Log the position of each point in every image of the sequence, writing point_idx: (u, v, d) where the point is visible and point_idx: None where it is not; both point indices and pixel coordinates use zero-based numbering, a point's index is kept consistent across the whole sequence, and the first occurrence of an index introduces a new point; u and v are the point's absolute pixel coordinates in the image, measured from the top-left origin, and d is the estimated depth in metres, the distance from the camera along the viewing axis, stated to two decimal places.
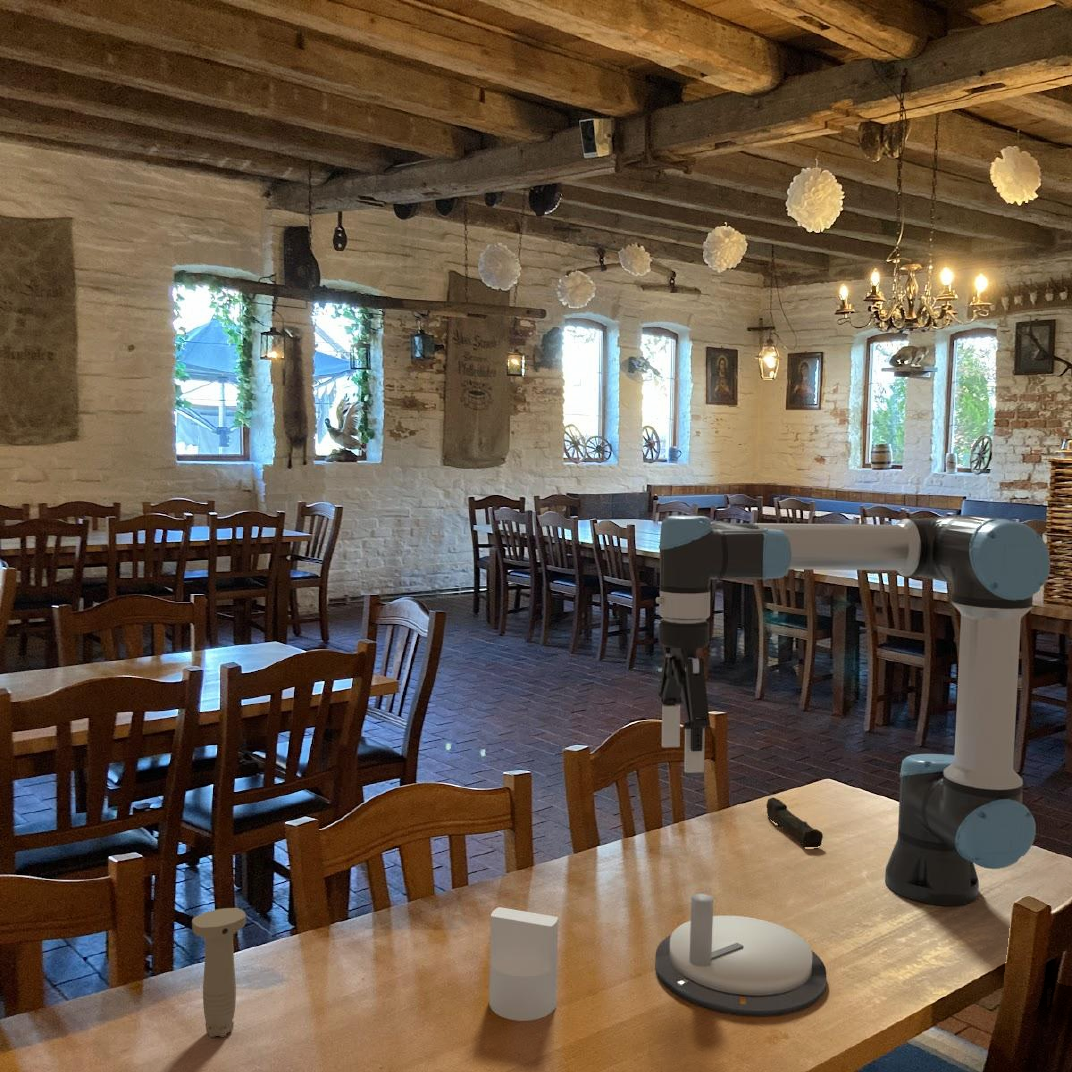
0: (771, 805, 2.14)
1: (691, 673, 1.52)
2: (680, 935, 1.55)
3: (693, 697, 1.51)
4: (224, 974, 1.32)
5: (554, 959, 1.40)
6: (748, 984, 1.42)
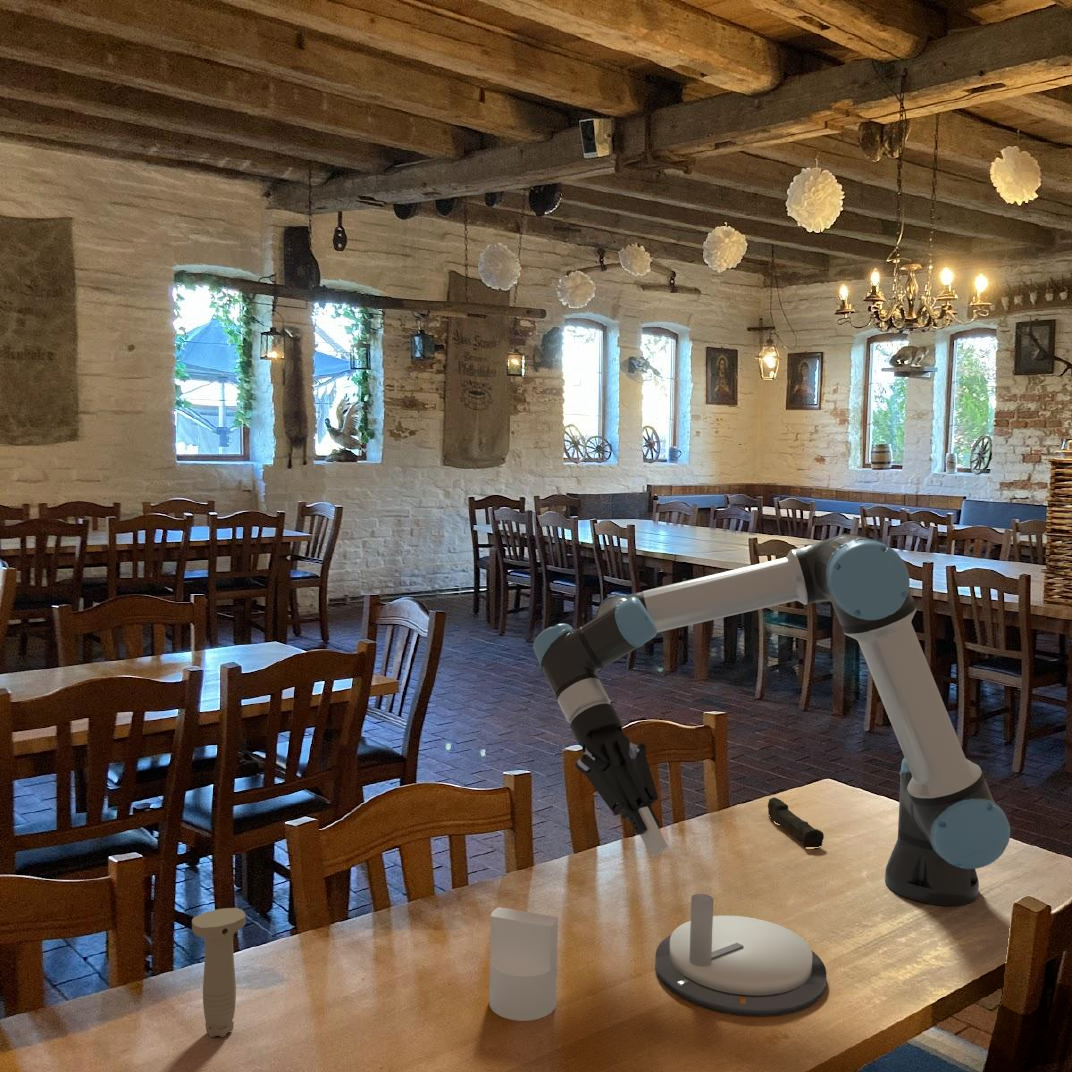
0: (772, 805, 2.14)
1: (586, 772, 1.59)
2: (680, 935, 1.55)
3: (600, 792, 1.58)
4: (224, 974, 1.32)
5: (554, 959, 1.40)
6: (748, 984, 1.42)
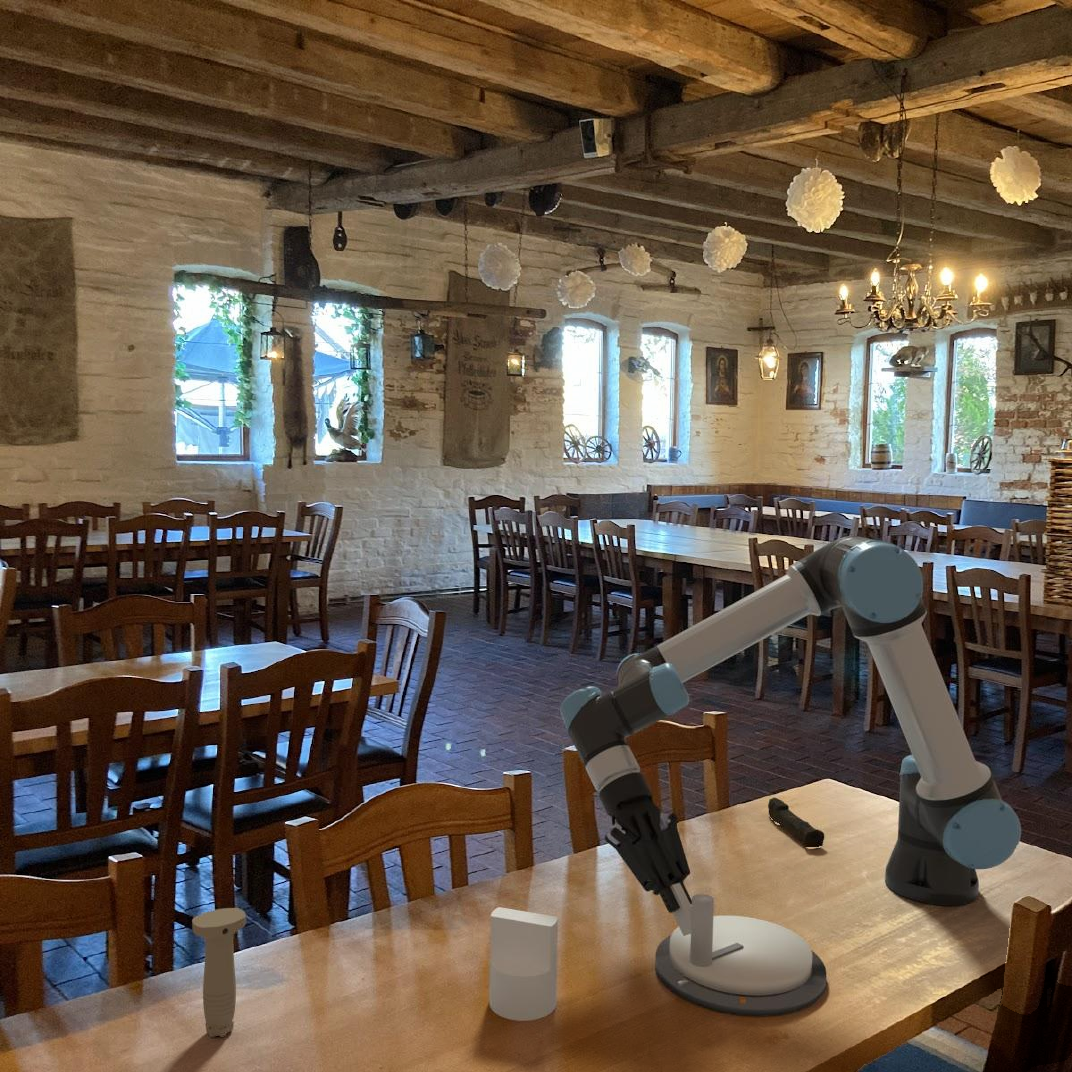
0: (773, 805, 2.14)
1: (616, 846, 1.54)
2: (680, 935, 1.55)
3: (630, 867, 1.53)
4: (224, 974, 1.32)
5: (554, 959, 1.40)
6: (749, 984, 1.42)
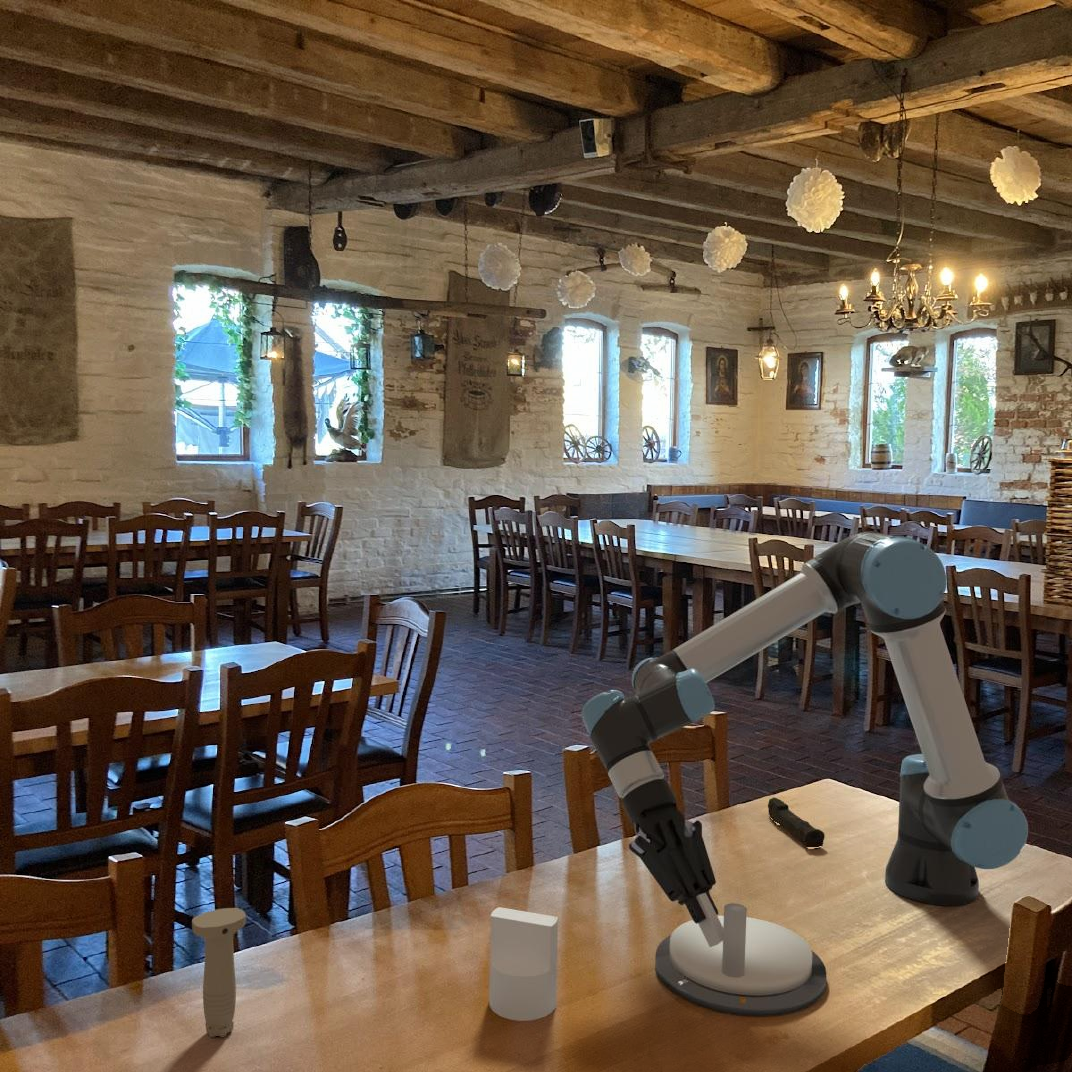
0: (772, 805, 2.14)
1: (640, 855, 1.51)
2: (684, 952, 1.50)
3: (655, 876, 1.50)
4: (224, 974, 1.32)
5: (554, 959, 1.40)
6: (790, 980, 1.44)
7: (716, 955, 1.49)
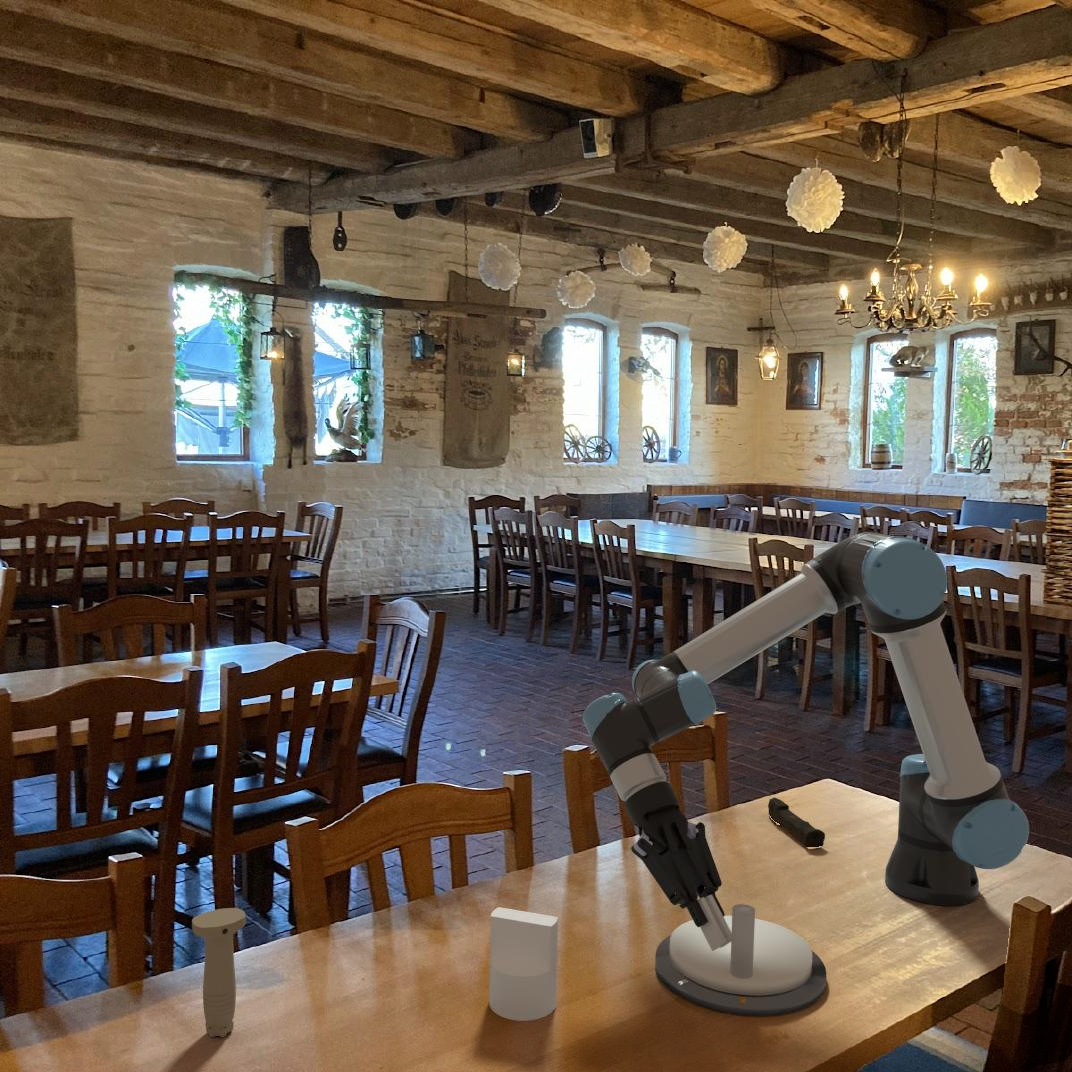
0: (773, 805, 2.14)
1: (642, 857, 1.50)
2: (688, 956, 1.49)
3: (657, 879, 1.49)
4: (224, 974, 1.32)
5: (554, 959, 1.40)
6: (797, 977, 1.44)
7: (720, 957, 1.49)
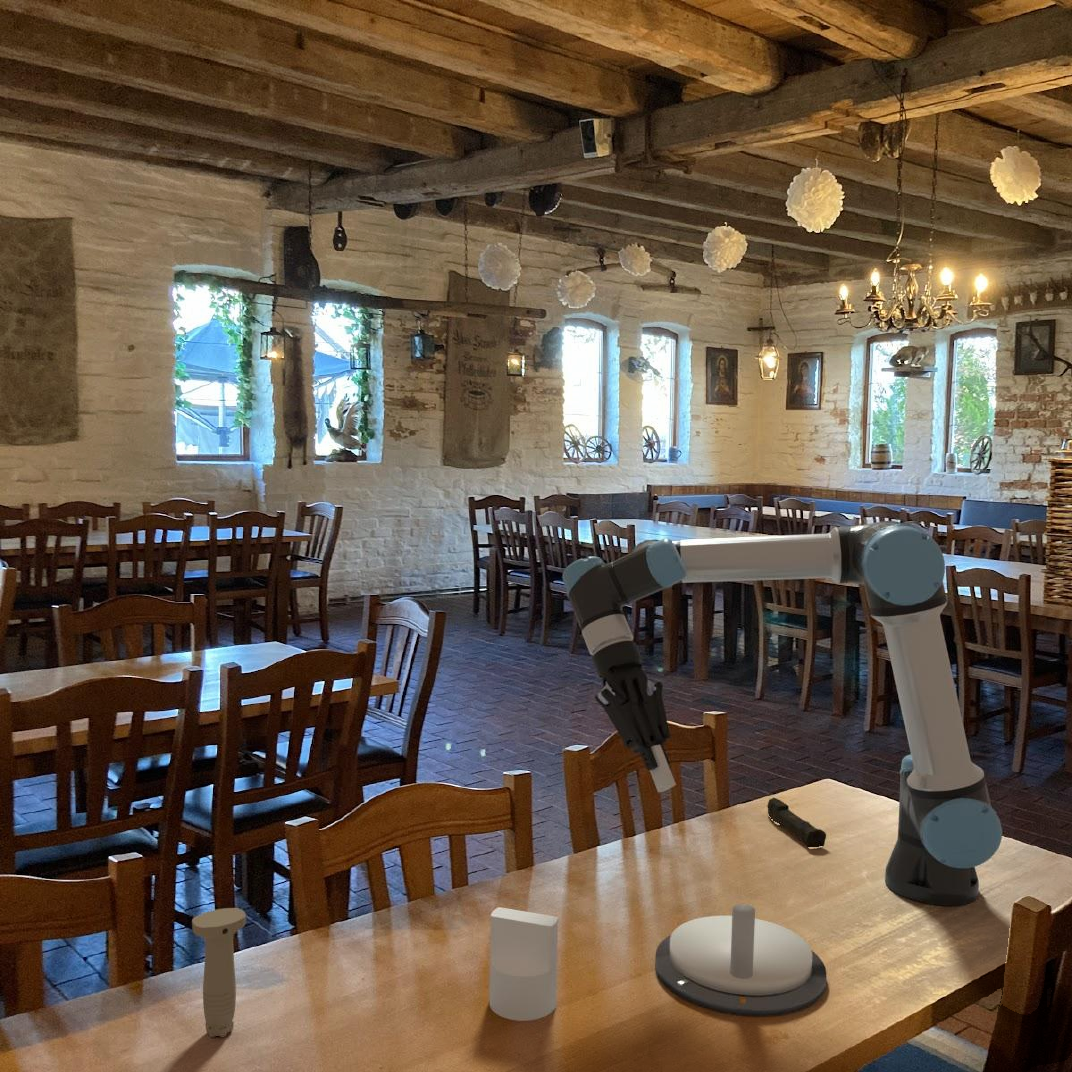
0: (772, 805, 2.14)
1: (604, 706, 1.64)
2: (688, 956, 1.49)
3: (616, 726, 1.64)
4: (224, 974, 1.32)
5: (554, 959, 1.40)
6: (797, 977, 1.44)
7: (720, 957, 1.49)
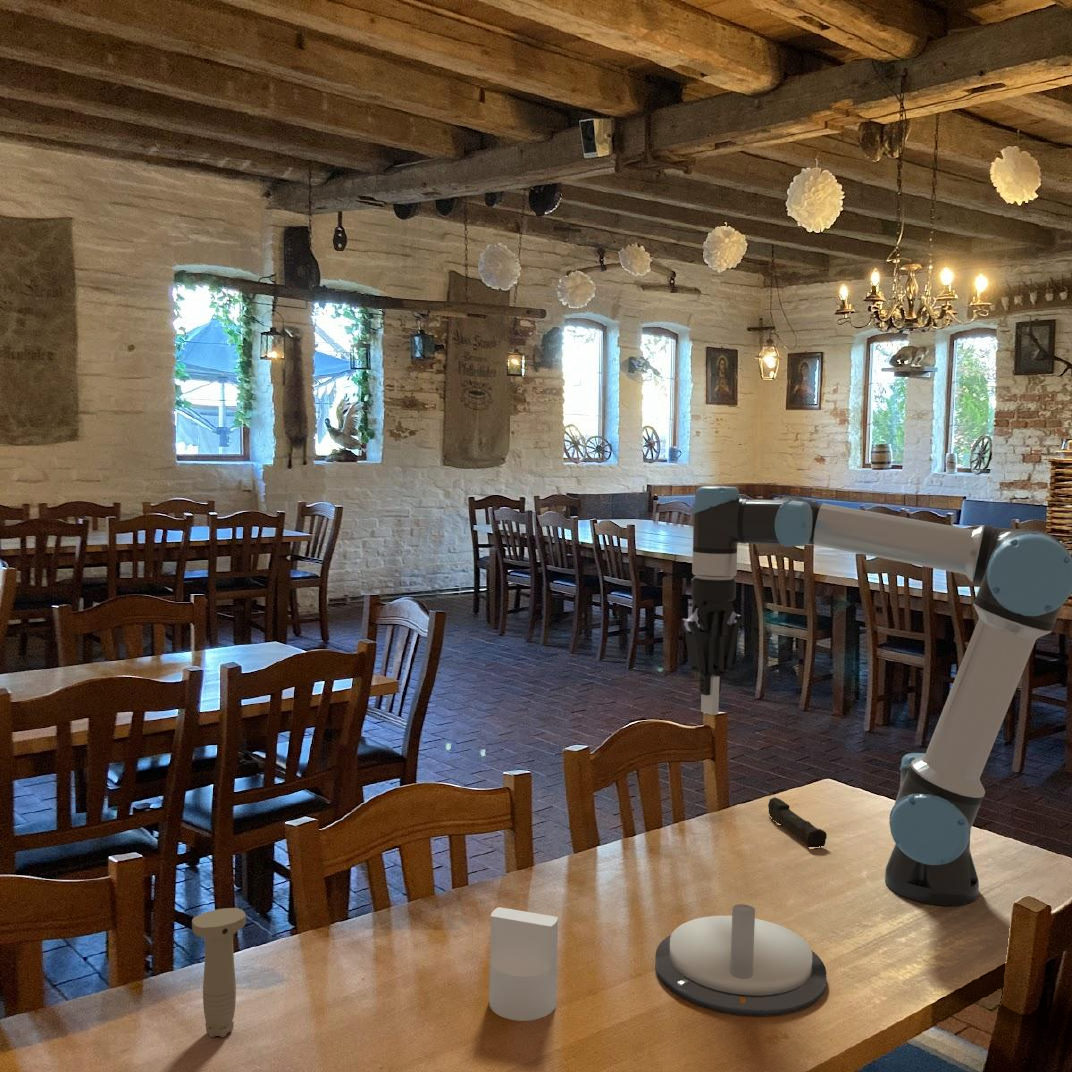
0: (773, 805, 2.14)
1: (686, 631, 1.79)
2: (688, 956, 1.49)
3: (689, 650, 1.80)
4: (224, 974, 1.32)
5: (554, 959, 1.40)
6: (797, 977, 1.44)
7: (720, 957, 1.49)
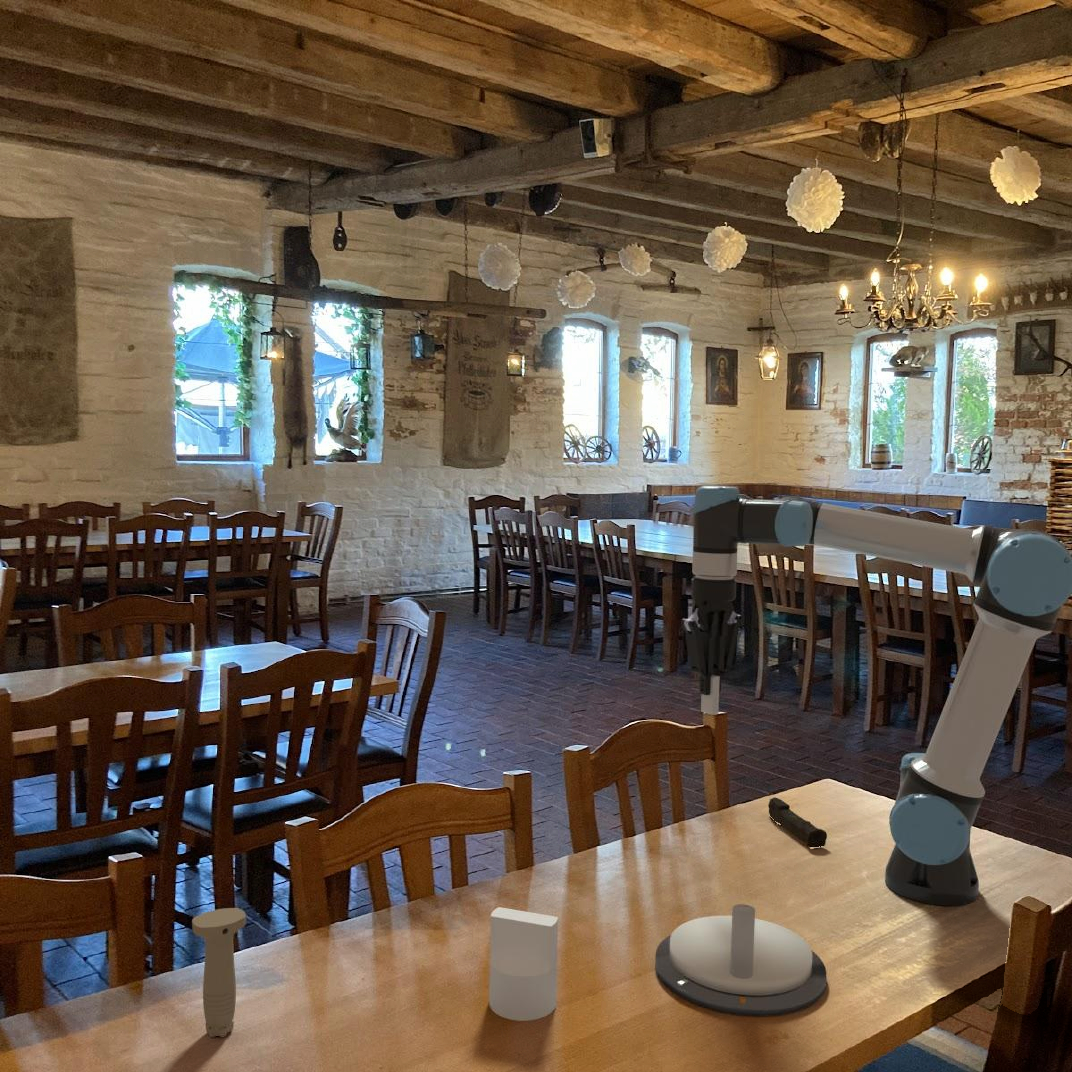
0: (773, 805, 2.14)
1: (686, 631, 1.79)
2: (688, 956, 1.49)
3: (689, 650, 1.80)
4: (224, 974, 1.32)
5: (554, 959, 1.40)
6: (797, 977, 1.44)
7: (720, 957, 1.49)
